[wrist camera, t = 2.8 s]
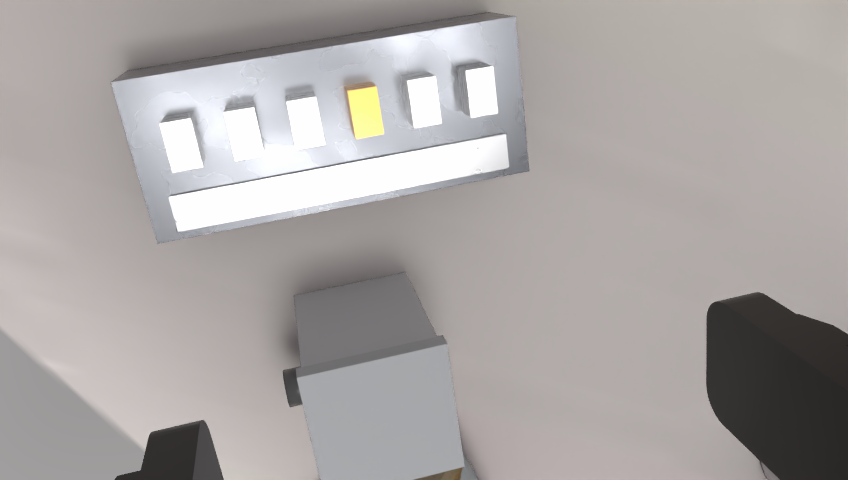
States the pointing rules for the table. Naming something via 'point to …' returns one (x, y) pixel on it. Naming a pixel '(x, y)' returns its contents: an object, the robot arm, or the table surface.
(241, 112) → the breaker strip
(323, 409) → the junction box
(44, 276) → the table surface
